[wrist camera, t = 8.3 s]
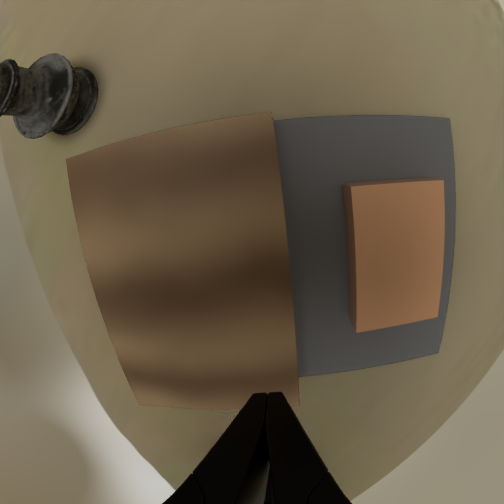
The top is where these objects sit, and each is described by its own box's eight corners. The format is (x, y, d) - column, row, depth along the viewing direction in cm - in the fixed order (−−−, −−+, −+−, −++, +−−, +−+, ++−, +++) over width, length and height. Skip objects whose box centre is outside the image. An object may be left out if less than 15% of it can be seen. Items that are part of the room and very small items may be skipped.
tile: (356, 332, 18) (349, 317, 20) (437, 316, 17) (425, 303, 19) (350, 186, 15) (342, 183, 17) (443, 180, 14) (428, 177, 16)
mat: (437, 351, 20) (438, 352, 20) (297, 374, 22) (297, 377, 21) (447, 118, 15) (449, 118, 15) (272, 121, 17) (272, 120, 16)
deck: (297, 374, 22) (299, 406, 18) (153, 377, 23) (138, 404, 20) (272, 121, 17) (271, 111, 13) (96, 157, 18) (66, 159, 14)
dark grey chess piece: (34, 104, 17) (-85, 99, 5) (81, 49, 15) (-37, 7, 4) (62, 155, 18) (-73, 172, 6) (114, 98, 17) (-26, 64, 5)
